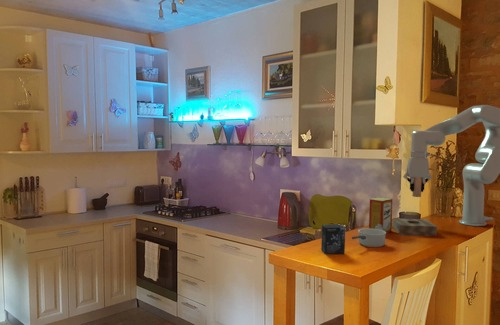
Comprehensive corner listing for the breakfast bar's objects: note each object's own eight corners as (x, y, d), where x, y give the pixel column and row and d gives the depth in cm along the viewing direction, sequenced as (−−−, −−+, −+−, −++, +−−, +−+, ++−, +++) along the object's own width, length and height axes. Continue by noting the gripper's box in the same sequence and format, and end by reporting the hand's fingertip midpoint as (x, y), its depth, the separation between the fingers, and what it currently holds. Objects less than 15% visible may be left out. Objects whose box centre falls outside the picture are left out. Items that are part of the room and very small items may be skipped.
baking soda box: (378, 228, 205) (379, 196, 203) (391, 231, 200) (392, 198, 199) (368, 231, 198) (369, 198, 197) (381, 234, 193) (382, 200, 192)
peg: (419, 195, 213) (420, 172, 213) (421, 197, 209) (423, 173, 209) (411, 195, 214) (412, 172, 213) (413, 196, 210) (415, 173, 209)
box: (325, 254, 160) (326, 227, 160) (321, 250, 166) (321, 224, 165) (345, 254, 162) (345, 227, 161) (340, 250, 167) (340, 223, 166)
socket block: (425, 228, 207) (425, 219, 206) (436, 236, 191) (437, 226, 190) (392, 227, 208) (392, 218, 208) (400, 235, 192) (401, 225, 192)
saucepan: (340, 248, 170) (340, 234, 170) (367, 239, 184) (367, 227, 184) (365, 254, 162) (365, 240, 162) (391, 245, 176) (391, 231, 175)
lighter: (374, 235, 191) (375, 218, 191) (376, 234, 192) (377, 217, 192) (388, 238, 186) (389, 220, 185) (390, 237, 187) (391, 220, 187)
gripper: (433, 155, 213) (431, 191, 214) (399, 154, 215) (397, 189, 216) (438, 156, 206) (436, 193, 207) (403, 155, 207) (401, 191, 208)
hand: (416, 191), depth 211 cm, fingers closed on peg, 4 cm apart
